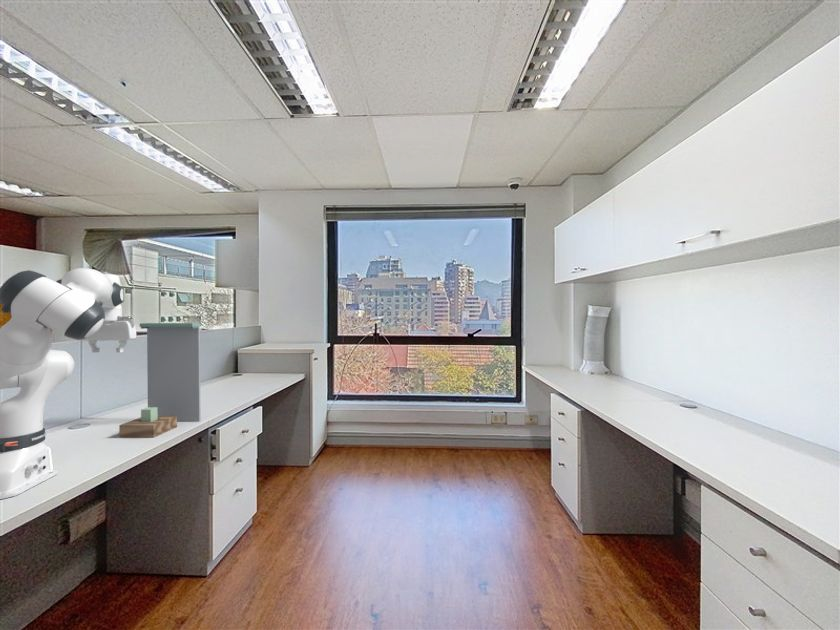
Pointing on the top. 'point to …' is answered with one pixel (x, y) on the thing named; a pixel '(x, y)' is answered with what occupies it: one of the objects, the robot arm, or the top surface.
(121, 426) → the socket block
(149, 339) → the tall box with lid
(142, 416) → the peg
